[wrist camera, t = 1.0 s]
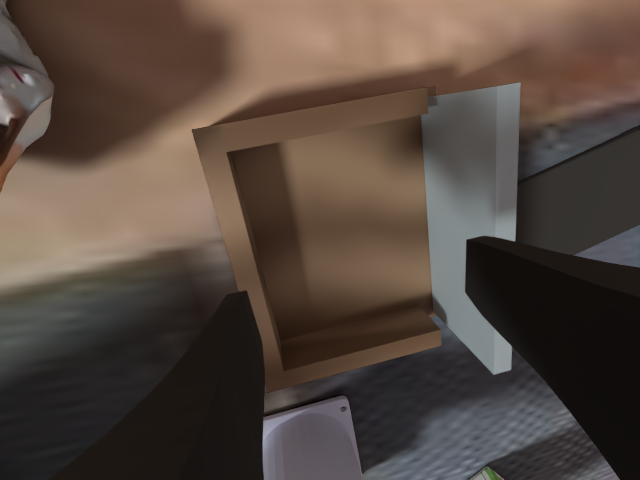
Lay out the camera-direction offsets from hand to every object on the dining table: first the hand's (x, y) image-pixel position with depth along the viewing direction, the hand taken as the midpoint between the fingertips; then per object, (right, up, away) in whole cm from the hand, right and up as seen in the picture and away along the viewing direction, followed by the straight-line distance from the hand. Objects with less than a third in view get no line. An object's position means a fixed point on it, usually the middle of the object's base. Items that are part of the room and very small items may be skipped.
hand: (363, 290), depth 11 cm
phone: (+19, +5, +14) cm, 24 cm away
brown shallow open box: (0, +2, +11) cm, 11 cm away
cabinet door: (+6, +3, +11) cm, 13 cm away
